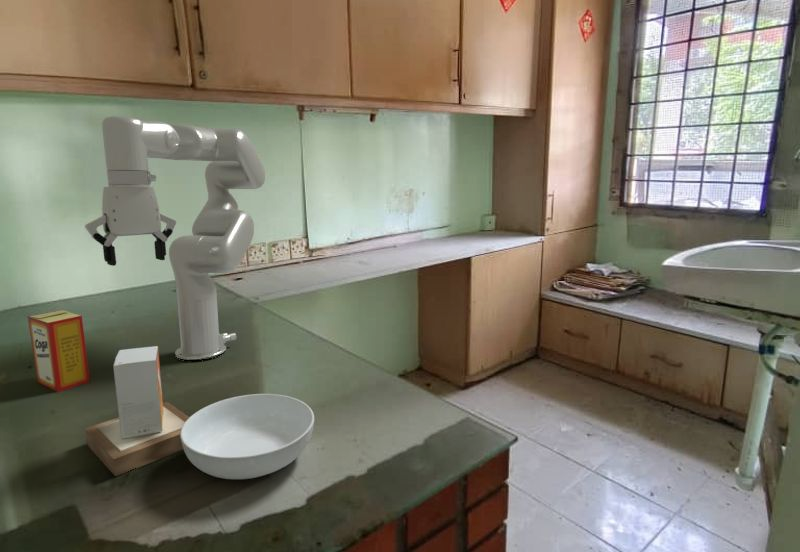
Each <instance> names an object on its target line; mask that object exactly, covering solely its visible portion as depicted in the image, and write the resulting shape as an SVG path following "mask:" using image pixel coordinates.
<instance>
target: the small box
mask: <svg viewBox="0 0 800 552" xmlns="http://www.w3.org/2000/svg"><path fill="white" fill-rule="evenodd" d="M159 355H160V354H159V346H158V345H155V346H154V345H153V346H145V347H136V348H127V349H119V350H118V352H117V354H116V356H115V360H114V362H113V365H112V366H113V375H114V384H115V385H114V386H115V394H116V401H117V410H118V418H119V423H120V433H121V439H125V438H131V437H136V436H142V435H147V434H152V433H157V432H162V431H163V430H162V424H163V412H164V411H163V403H164V402H163V391H162V380H161V377H162V376H161V369H160V368H161V367H160V366H161V365H160V356H159Z"/></svg>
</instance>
